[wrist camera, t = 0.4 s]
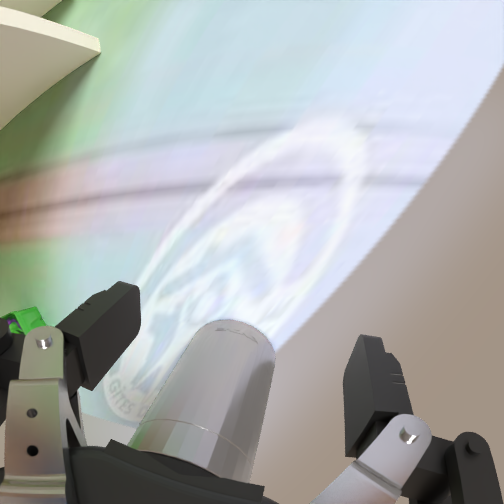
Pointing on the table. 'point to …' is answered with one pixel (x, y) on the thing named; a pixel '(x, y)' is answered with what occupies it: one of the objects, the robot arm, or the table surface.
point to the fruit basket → (24, 320)
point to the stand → (35, 53)
